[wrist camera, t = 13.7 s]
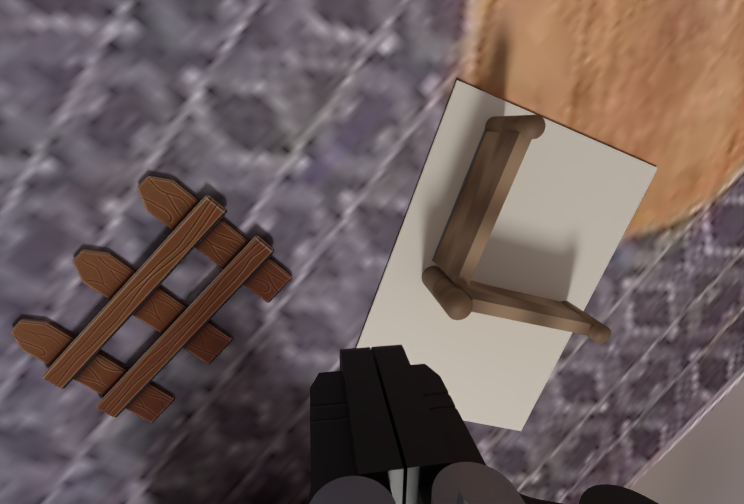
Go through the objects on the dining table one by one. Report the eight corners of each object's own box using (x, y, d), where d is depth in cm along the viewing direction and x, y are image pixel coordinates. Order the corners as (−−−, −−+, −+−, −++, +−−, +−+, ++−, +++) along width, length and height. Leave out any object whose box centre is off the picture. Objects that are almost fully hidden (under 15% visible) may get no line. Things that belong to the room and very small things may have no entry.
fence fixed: (486, 112, 37) (530, 109, 29) (507, 121, 37) (556, 120, 30) (417, 283, 41) (442, 316, 34) (438, 289, 41) (466, 322, 34)
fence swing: (445, 290, 41) (470, 317, 35) (451, 274, 40) (477, 299, 34) (565, 315, 44) (605, 344, 38) (572, 301, 44) (613, 328, 38)
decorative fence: (300, 266, 39) (167, 156, 34) (300, 272, 37) (160, 157, 32) (149, 422, 41) (4, 341, 36) (142, 434, 39) (-10, 351, 34)
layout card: (456, 80, 35) (457, 80, 35) (656, 167, 41) (658, 168, 41) (338, 395, 43) (338, 397, 43) (520, 429, 49) (521, 431, 49)
